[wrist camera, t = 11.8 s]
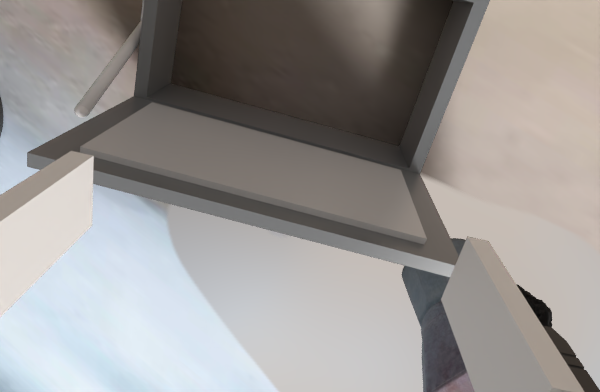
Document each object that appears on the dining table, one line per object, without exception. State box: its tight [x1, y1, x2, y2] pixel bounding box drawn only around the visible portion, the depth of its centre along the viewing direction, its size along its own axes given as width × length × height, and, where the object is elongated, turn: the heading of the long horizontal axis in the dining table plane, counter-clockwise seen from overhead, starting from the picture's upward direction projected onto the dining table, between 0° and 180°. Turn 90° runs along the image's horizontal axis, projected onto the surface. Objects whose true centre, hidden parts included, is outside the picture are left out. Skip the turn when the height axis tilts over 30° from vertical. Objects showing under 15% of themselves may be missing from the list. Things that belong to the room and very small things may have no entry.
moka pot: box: [402, 238, 552, 392], centre depth 39 cm, size 10×15×20 cm, turn 166°
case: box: [27, 0, 490, 277], centre depth 31 cm, size 26×16×20 cm, turn 75°
